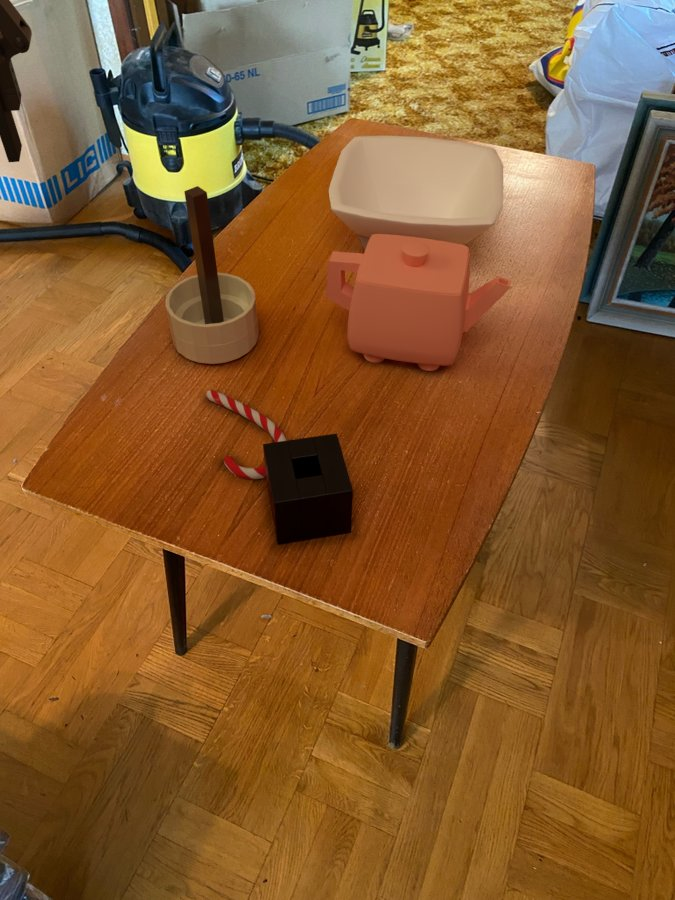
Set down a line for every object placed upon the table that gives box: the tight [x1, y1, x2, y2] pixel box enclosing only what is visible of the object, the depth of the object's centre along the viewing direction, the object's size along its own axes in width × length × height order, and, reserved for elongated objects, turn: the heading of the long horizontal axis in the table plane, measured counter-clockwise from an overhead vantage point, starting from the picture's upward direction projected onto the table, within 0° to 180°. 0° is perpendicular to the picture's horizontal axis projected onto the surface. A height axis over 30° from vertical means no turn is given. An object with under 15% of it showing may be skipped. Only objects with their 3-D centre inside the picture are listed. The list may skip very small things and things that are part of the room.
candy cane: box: [205, 389, 287, 480], centre depth 81 cm, size 8×1×15 cm
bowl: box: [328, 134, 504, 252], centre depth 106 cm, size 24×25×10 cm
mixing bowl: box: [164, 272, 260, 365], centre depth 90 cm, size 11×11×6 cm
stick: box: [184, 185, 224, 324], centre depth 85 cm, size 2×2×20 cm
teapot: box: [325, 234, 512, 372], centre depth 88 cm, size 22×13×14 cm, turn 78°
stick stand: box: [262, 433, 354, 546], centre depth 72 cm, size 8×8×7 cm
